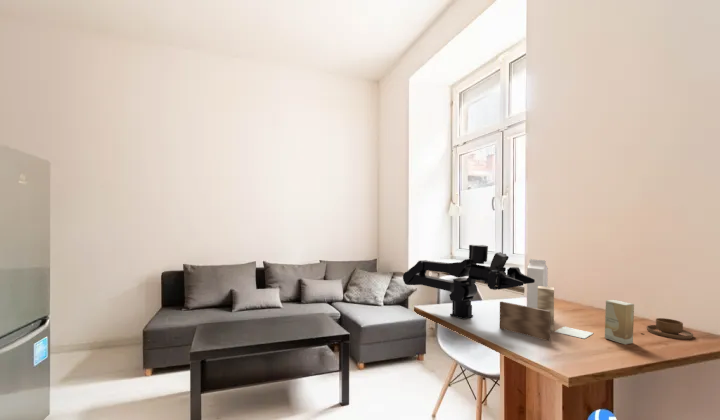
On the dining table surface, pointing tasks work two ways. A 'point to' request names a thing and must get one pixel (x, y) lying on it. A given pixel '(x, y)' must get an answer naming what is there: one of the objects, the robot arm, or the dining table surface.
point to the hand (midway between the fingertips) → (529, 282)
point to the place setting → (669, 329)
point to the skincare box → (619, 321)
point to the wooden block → (546, 302)
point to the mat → (574, 332)
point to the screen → (525, 320)
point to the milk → (536, 280)
